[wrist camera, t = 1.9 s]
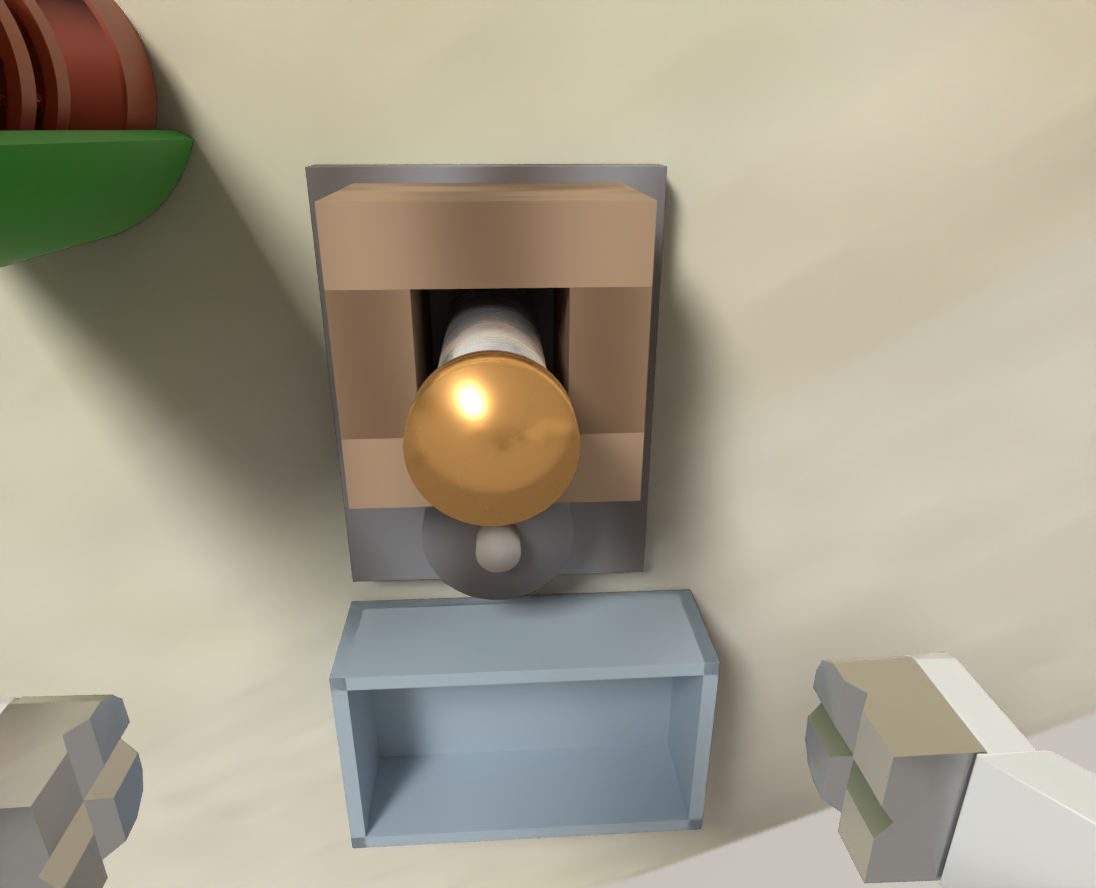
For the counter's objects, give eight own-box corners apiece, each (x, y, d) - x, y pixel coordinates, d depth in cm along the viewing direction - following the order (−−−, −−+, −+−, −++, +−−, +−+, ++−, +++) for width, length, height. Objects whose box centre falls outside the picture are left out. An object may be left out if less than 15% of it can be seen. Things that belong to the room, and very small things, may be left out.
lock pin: (545, 260, 27) (581, 362, 16) (545, 364, 28) (578, 524, 17) (436, 261, 27) (396, 365, 16) (441, 367, 28) (409, 528, 17)
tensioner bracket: (658, 164, 27) (714, 180, 20) (636, 553, 34) (673, 665, 27) (314, 164, 27) (252, 181, 20) (358, 562, 33) (323, 680, 26)
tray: (689, 589, 34) (719, 662, 30) (676, 743, 38) (701, 828, 33) (351, 601, 34) (329, 678, 29) (369, 757, 37) (352, 848, 33)
